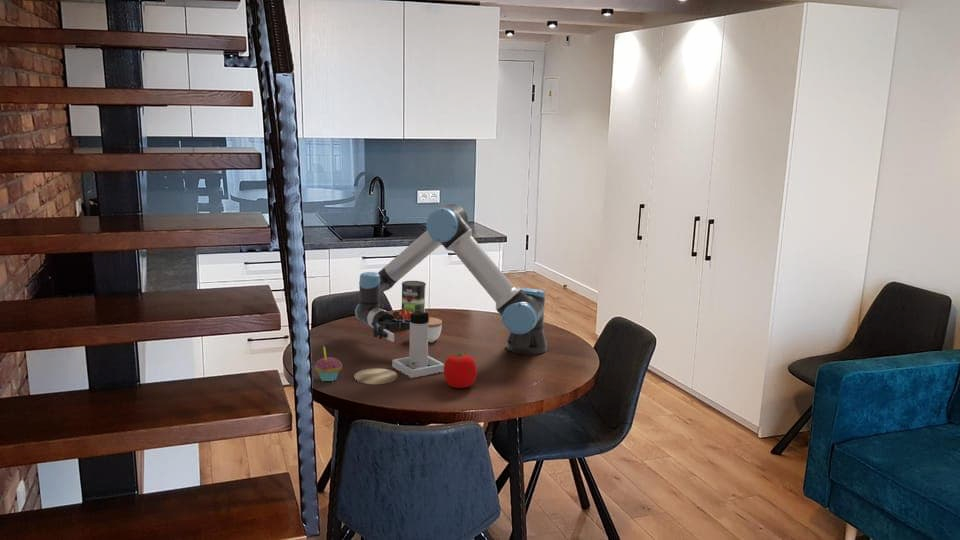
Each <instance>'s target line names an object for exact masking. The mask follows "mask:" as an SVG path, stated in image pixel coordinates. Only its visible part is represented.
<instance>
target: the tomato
mask: <svg viewBox="0 0 960 540" xmlns="http://www.w3.org/2000/svg"><path fill="white" fill-rule="evenodd" d="M443 364H444V372H443V376H444V380H445V381H446V383H447V384H448V385H449V386H450V387H451V388H455V389H464V388H468V387H471V386H472V385H474V382H475V381H476V379H477V374H478V369H477V364H476V361H475V359H474V358H473V357H472V356H471V355H468V354H466V353H458V352H456V354H451V355H449V356H448V357H447V358H446V360H445V362H444V363H443Z"/></svg>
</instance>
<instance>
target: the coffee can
mask: <svg viewBox="0 0 960 540" xmlns="http://www.w3.org/2000/svg"><path fill="white" fill-rule="evenodd" d="M426 284H427V283H426V282H424V281H422V280H421V281H420V280H405V281H402V282H401V309H402V310H404V309H408V311H411V312H412V313H414V314H415V313H426V309H425V307H426Z"/></svg>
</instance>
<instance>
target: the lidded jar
mask: <svg viewBox="0 0 960 540" xmlns="http://www.w3.org/2000/svg"><path fill="white" fill-rule="evenodd" d="M428 321H429V323H428V324H429V327H428V328H429V336H428V342H430V343H434V341H435V340H438V339H439V337H440V336H441V333H442V328H443V327H442V326H443V321H442V319H440V318H436V317H430V316H429V319H428ZM435 342H436V341H435Z"/></svg>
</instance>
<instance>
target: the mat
mask: <svg viewBox="0 0 960 540" xmlns="http://www.w3.org/2000/svg"><path fill="white" fill-rule="evenodd" d="M353 378H355V379H354V380H355V381H356V380H357V381H356V382H357V383H360V384H366V385H384V384H385V385H386V384H389V383H392V382H395V381H396V380H397V379H398V374H397V372H395V371H394V370H392V369H387V368H379V367H378V368H377V367H376V368H366V369H362V370H361V369H360V370H359V371H357V372H355V374H353Z"/></svg>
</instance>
